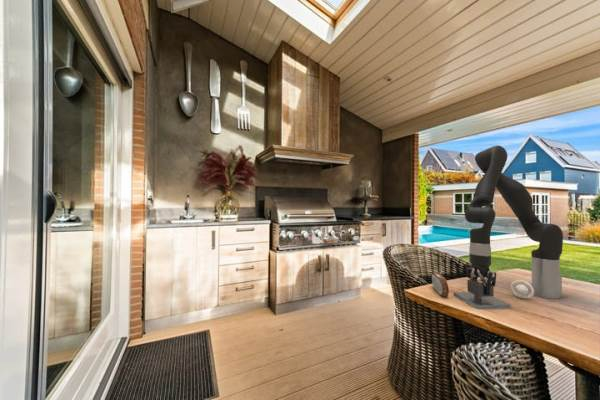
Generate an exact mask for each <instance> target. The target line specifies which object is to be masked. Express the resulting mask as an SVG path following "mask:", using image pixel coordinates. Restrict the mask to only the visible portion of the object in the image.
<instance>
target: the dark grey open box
mask: <svg viewBox="0 0 600 400" xmlns="http://www.w3.org/2000/svg"><path fill="white" fill-rule="evenodd" d="M474 280H476V279H474ZM474 280H470V279H467V292H470V293H472V294H474V295H477V296H479V297H488V296H493V297H495V296H494V295H495V294H494V291H495V290H494V287H495V286H491V287H490V295H484V284H480V283H477V282H475V281H474ZM478 280H479V281H481V279H478ZM486 283H487V281H486Z"/></svg>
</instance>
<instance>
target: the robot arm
mask: <svg viewBox="0 0 600 400" xmlns="http://www.w3.org/2000/svg"><path fill="white" fill-rule="evenodd" d="M474 160H475V164H476V165H477V166H478V168H479V169H480V171H481V172H482V173H483V176H482V177H481V178H480V180H479V181H478V183H477V184H476V186H475V190H474V194H473V198H472V200H471V201H470V203H469V204H468V206H467V208H466V209H465V213H464V219H465V220H466V222H468V223H471V224H483V225H482V227H479V228H472V229H470V232H469V238H470V239H469V246H468V247H469V251H468V252H469V263H470V264H469V263H467V264H465V272H466V278H467V279H468V280H474V279H476V280H481V281H482V282H483V284H484V295H490V287H491V286H494V287H496V283H497V272H495V271H491V270H490V266H491V265H492V248H491V232H492V227H493V225H494V222H495V219H496V212H495V210H494V208H492V207H489V206H491V205H492V203H493V202H494V196H495V193H496V192H495V191H496V190H497V191H498V192H499V194H500V196H501V197H502V199H503V200H504V201H505V203H506V204H507V206H509V208H510V209H511V211H512V212H513V214H514V216H516V218H517V220H518V221H519V223H520V225H521V227H522V228H523V230H524V232H525V234H526V235H527V236H528V238H529V239H530V240H532V241H533V242H537V243H538V244H539V246H538V248H536V249H532V251H531V253H530V254H531V286H532V287H533V289H534V295H536V296H538V297H541V298H546V299H551V300H552V299H553V300H558V299H560V298H563V281H562V280H563V278H562V275H561V273H560V272H561V267H560V265H561V263H560V259H561V258H560V257H561V255H562V254H563V253H562V252H563V248H564V247H563V245H564V244H563V243H564V233H563V230H562V228H561V227H560V226H559V225H557V224H554V223H547V222H542V221H541V220H540V219H539V218H538V216H537V215H536V213H535V212H534V207H533V206H534V203H533V197H532V195H531V193H530V192H529V190H527V188H526V186H525V185H524V184H523V183H521V182H520V181H518V180H516V179H514V178H512V177H510V176H507V175H506V174H503V170H504V168H505V165H506V164H507V161H508V152H507V150H506V149H505V148H504V146H501V145H494V146H491V147H489V148H486V149H484V150H482V151H479V152H477V153H476V155H475V156H474ZM486 282H487V283H486Z"/></svg>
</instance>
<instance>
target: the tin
mask: <svg viewBox="0 0 600 400" xmlns="http://www.w3.org/2000/svg"><path fill="white" fill-rule="evenodd" d="M431 284H432V288H433V290H435V292H436V293H437V294H438V295H439V296H440V297H448V296H449V292H450V291H449V290H450V289H449V288H450V287H449V284H448V281H447V279H446V277H444V276H443V275H442V274H441V273H439V272H433V273H432V274H431Z"/></svg>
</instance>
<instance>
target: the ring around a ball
mask: <svg viewBox="0 0 600 400" xmlns="http://www.w3.org/2000/svg"><path fill="white" fill-rule="evenodd" d="M518 283H519V284H518ZM516 284H517V285H516ZM514 286H515V288H514ZM529 289H530V290H529ZM510 290H511V292H512V294H514V296H515V297H518V298H520V299H525V300H527V299H531V298H532V297H533V296H534V295H535V294H534V289H533V287H532V284H530V283H529V282H527V281H526V280H521V279H517V280H514V281H512V282H511V284H510ZM529 291H530V293H529ZM527 294H528V295H527Z"/></svg>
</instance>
